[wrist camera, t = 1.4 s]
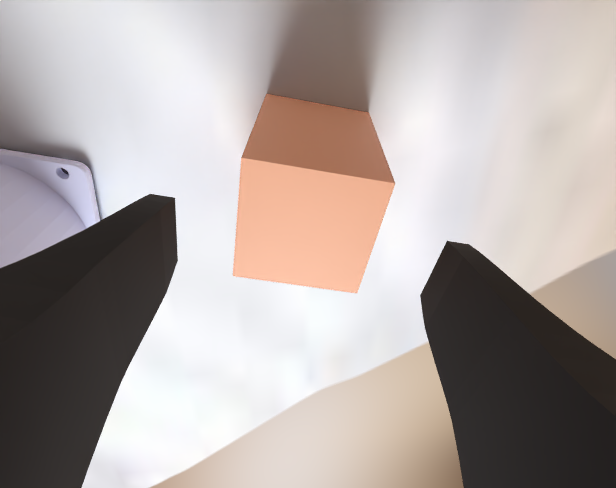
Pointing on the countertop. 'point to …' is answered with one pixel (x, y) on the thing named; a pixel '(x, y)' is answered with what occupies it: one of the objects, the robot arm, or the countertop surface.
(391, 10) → the countertop surface
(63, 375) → the robot arm
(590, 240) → the countertop surface
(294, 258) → the terracotta block
